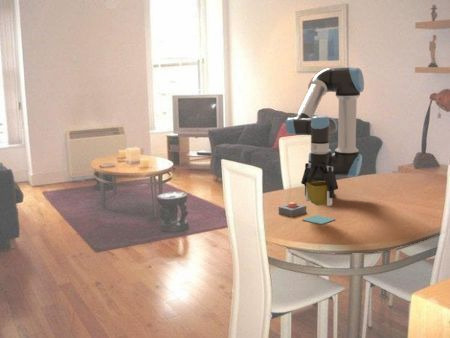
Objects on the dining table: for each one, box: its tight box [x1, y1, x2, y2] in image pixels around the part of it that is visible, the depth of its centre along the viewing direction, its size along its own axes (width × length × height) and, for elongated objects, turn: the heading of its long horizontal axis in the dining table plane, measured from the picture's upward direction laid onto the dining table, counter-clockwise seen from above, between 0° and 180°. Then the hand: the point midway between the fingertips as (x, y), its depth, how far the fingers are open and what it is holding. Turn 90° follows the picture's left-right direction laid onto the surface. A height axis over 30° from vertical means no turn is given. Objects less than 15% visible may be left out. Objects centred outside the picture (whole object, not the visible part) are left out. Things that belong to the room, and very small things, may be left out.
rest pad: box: [302, 214, 336, 226], centre depth 232 cm, size 10×10×1 cm
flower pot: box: [306, 181, 329, 206], centre depth 229 cm, size 9×9×9 cm
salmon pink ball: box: [287, 202, 298, 208], centre depth 244 cm, size 4×4×4 cm
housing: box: [278, 203, 307, 217], centre depth 244 cm, size 10×8×3 cm
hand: (318, 202), depth 230 cm, fingers closed on flower pot, 11 cm apart
